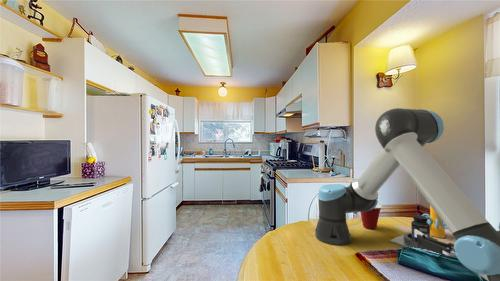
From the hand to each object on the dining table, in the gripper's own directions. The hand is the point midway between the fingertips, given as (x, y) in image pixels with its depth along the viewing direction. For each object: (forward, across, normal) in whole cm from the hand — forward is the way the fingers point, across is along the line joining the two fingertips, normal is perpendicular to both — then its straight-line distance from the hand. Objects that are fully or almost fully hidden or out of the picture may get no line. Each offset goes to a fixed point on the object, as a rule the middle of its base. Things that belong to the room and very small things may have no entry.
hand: (435, 233), depth 81 cm
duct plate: (+9, 0, -8) cm, 12 cm away
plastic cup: (+26, -14, -8) cm, 30 cm away
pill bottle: (+9, 0, -8) cm, 12 cm away
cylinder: (+20, +13, -8) cm, 26 cm away
